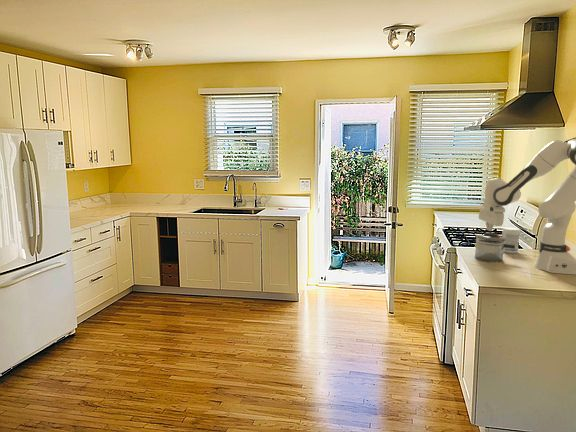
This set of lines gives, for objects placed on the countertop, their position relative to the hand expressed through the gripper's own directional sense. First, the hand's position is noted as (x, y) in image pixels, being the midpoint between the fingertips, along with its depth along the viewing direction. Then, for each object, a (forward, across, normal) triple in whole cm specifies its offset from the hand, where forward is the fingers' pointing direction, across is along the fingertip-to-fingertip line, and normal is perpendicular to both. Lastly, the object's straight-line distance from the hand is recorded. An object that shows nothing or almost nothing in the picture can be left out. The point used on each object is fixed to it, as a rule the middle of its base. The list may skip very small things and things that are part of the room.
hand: (489, 230), depth 265 cm
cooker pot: (+18, -1, +5) cm, 18 cm away
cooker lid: (+6, -3, +3) cm, 7 cm away
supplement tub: (+18, -18, +25) cm, 36 cm away
